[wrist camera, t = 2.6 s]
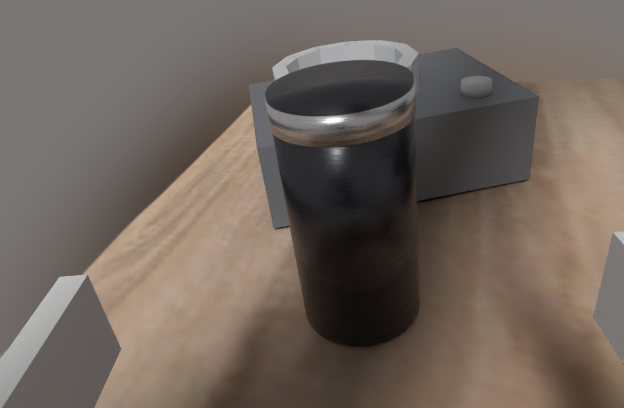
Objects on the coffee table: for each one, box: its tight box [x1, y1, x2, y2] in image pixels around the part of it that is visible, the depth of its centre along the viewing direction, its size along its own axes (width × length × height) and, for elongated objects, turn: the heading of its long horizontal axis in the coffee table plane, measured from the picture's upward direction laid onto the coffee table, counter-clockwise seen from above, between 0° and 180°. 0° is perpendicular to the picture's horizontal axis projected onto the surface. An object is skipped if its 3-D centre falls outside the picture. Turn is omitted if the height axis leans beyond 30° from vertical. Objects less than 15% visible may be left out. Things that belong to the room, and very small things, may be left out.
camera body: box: [249, 40, 539, 229], centre depth 37 cm, size 18×13×8 cm
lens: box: [265, 60, 419, 346], centre depth 23 cm, size 6×6×12 cm
